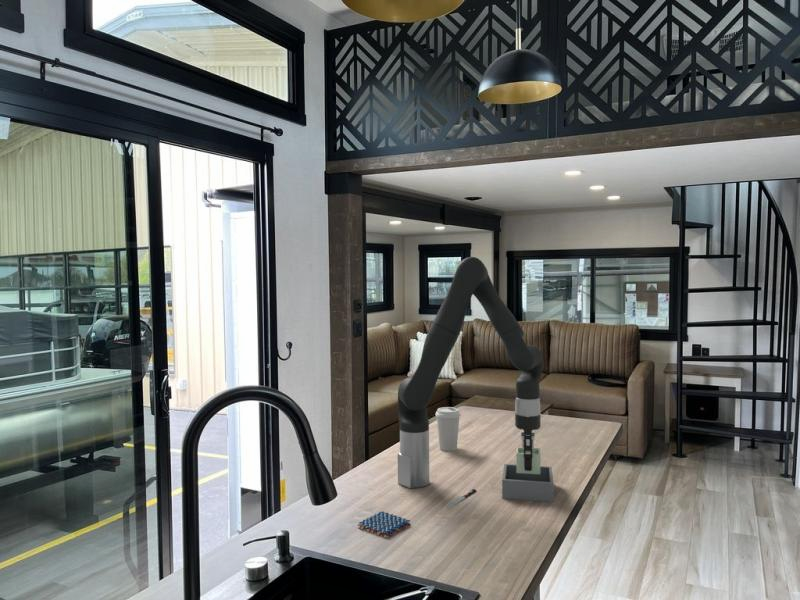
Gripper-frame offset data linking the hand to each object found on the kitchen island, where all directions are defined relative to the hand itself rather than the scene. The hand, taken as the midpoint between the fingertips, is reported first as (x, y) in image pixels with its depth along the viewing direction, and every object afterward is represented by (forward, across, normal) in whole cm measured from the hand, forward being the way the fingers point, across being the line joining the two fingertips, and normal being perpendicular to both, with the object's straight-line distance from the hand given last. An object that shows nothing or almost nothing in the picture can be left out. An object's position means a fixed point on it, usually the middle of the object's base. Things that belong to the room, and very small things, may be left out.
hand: (528, 466), depth 176 cm
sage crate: (+1, 0, 0) cm, 1 cm away
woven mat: (+8, +32, -37) cm, 50 cm away
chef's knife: (+8, +11, -21) cm, 25 cm away
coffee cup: (+8, -37, -29) cm, 48 cm away
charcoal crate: (+7, 0, 0) cm, 7 cm away
